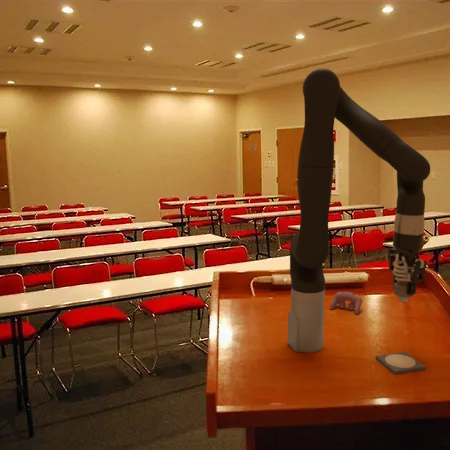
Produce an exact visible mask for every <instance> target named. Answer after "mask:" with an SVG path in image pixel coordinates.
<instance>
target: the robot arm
mask: <svg viewBox="0 0 450 450" xmlns="http://www.w3.org/2000/svg"><path fill="white" fill-rule="evenodd" d="M302 94H303V101H304V102H303V103H304V127H303V132H302V137H301V141H300V147H299V152H298V153H299V154H298V163H297V173H296V175H297V176H296V179H297V180H296V182H297V183H296V185H297V194H298V195H297V196H298V202H299V209H300V224H299V230H298V231H296V232H295V234H294V235H293V236H292V238H291V241H290V245H289V246H290V247H289V276H290V284H291V285H290V287H291V288H290V289H291V291H290V311H288V312H287V344H288V345H289V346H290V347H291V349H292V350H293V351H294V352H296V353H297V352H301V353H316V352H319V351H321V350H322V349H323V348H324V347H323V346H324V329H325V328H324V326H325V325H324V323H325V299H326V297H325V295H326V279H325V276H324V275H325V274H324V266H323V265H324V264H325V262H326V261H327V259H328V257H329V254H330V253H329V252H330V239H329V238H330V237H329V235H330V234H329V216H330V205H331V199H332V189H333V179H334V168H335V167H334V165H335V138H334V137H335V136H334V133H335V132H334V129H335V128H334V127H335V119H336V120H337V121H338V122H340V123H341V124H342V125H343V126H345V128H347V129H348V130H349V131H350V132H351V133H352V135H354V136H355V137H356V138H357V139H358V140H359V141H360V142H361V143H362V144H363V145H365V146H366V147H367V148H368V149H370V150H371V152H372V153H374V154H375V155H376V156H377V157H378V158H380V159H381V160H383V161H385V162H386V163H388V164H389V165H390V166H391V167H392V168H393V169H394V170H395V171H396V185H397V187H396V189H397V197H396V208H395V209H396V210H395V217H394V221H393V237H392V238H393V239H392V246H393V247H394V248H388V251H387V254H388V255H387V256H388V269H389V271H392V274H393V287H394V284H395V283H396V282H397V280H396V279H395V277H397V276H395V273H397V272H395V269H396V267H395V266H396V265H398V264H399V263H398V262H399V261H402V264H399V266H404V267H405V269H404V270H405V273H406V274H407V277H406V278H408V281H406V282H407V295H413V296H414V295H416V293H417V283H418V282H423V281H424V276H425V272H426V267H427V263H428V262H427V260H426V259H421V258H420V254H419V253H420V250H421V249H423V245H424V234H425V208H426V194H425V192H424V181H425V180H426V179H428V177H429V176H430V173H431V165H430V162H429V160H428V159H427V158H426V157H425V156H424V155H423V154H421V153H419V151H417V150H416V149H415V148H413V147H411V146H410V144H407V143H406V142H405V141H404V140H403V139H402V138H401V137H400V136H399V135H398V134H397V133H395V132H394V131H393V130H392V129H391V128H390V127H389V126H387V125H386V124H385V123H384V122H383V121H381V120H380V119H379V118H378V117H376V116H375V115H373V114H371V113H370V112H369V111H367V110H365V108H363V107H362V106H360V105H359V104H358V103H357V102H356V101H355V100H353V99H352V97H350V96H349V95H348V94H347V93H346V90H344V89H343V88H342V87H341V83H340V79H339V77H338V76H337V74H336V73H335V72H334V71H332V70H331V69H328V68H323V67H321V68H317V69H315V70H313V71H311V72H310V73H308V75H307V76H306V77H305V79H304V80H303V84H302ZM409 267H413V268H414V270H410V269H409ZM397 269H399V268H397ZM411 273H413V277H412V276H411ZM397 278H403V277H397Z"/></svg>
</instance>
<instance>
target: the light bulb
mask: <svg viewBox="0 0 450 450" xmlns="http://www.w3.org/2000/svg"><path fill="white" fill-rule="evenodd" d="M398 263H399V264H402V261H399V262H398ZM399 264H398V265H396V266H395V267H396V269H395V272H397V273H395V276H397V277H402V278H397V277H395V279H396V280H397V282H396V283H395V284H393V285H394V286H393V293H394V295H395V296H397V297H398V301H399V302H400V303H402V304H405V303H408V302H409V299H410V298H412V297H413V296H414V295H407V281H408V278H407V274H406V273H405V270H404V269H405V267H404V266H399ZM397 268H399V269H397ZM409 269H410V270H414V267H409ZM411 276H412V277H413V273H411Z"/></svg>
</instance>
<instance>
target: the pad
mask: <svg viewBox="0 0 450 450" xmlns="http://www.w3.org/2000/svg"><path fill="white" fill-rule="evenodd" d="M375 360H377V361H378V362H379V363H380V364H381V365H382V366H384V367H385V368H386V369H387V370H389V372H391V373H392V374H394V375H399V374H406V373H412V372H418V371H425V370H426V367H427V366H426V365H424V364H423V363H421V362H420V361H419V360H418V359H416V358H415V357H413V356H412V355H410V354H409V353H408V352H407V351H400V352H395V353H387V354H386V353H385V354H380V355H379V354H378V355H375Z"/></svg>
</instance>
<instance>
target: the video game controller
mask: <svg viewBox="0 0 450 450" xmlns="http://www.w3.org/2000/svg"><path fill="white" fill-rule="evenodd" d="M345 301H346V302H349V303H348V305H347V304H346V302H345ZM362 304H363V298H362V297H361V296H359V295H358V294H357V293H353V292H351V291H337V292H336V293H335V294H334V295H333V297H332V299H331V302H330V306H329V307H330V310H331V309H333V310H335V308H336V306H337V305H338V307H339V308H340V309H345V308H346V307H347V308H348V310H350V311H354V315H358V314H359V312H360V310H361V308H362Z"/></svg>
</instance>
